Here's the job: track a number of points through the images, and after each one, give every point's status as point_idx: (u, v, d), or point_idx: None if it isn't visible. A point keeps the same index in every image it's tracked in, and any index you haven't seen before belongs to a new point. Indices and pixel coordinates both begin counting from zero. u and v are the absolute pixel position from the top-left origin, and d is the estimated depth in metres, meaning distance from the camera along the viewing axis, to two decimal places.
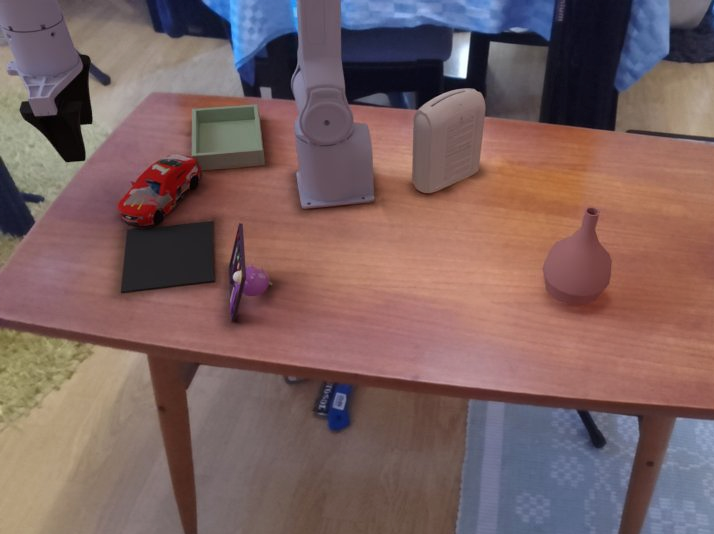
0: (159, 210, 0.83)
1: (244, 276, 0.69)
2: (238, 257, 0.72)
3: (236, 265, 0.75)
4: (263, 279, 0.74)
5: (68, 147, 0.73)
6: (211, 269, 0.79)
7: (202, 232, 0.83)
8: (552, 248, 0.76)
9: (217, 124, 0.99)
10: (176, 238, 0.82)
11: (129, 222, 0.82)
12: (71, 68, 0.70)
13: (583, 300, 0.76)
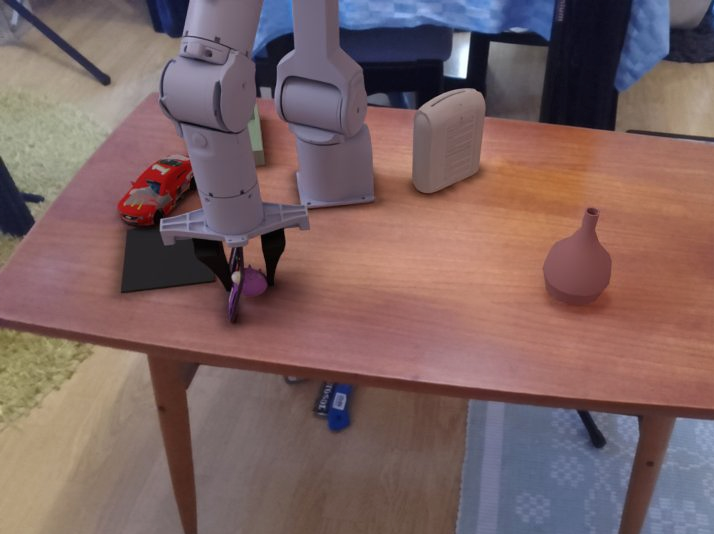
0: (159, 210, 0.83)
1: (243, 276, 0.69)
2: (237, 257, 0.72)
3: (235, 265, 0.75)
4: (262, 280, 0.74)
5: None
6: None
7: None
8: (552, 248, 0.76)
9: None
10: None
11: (129, 222, 0.82)
12: None
13: (583, 300, 0.76)
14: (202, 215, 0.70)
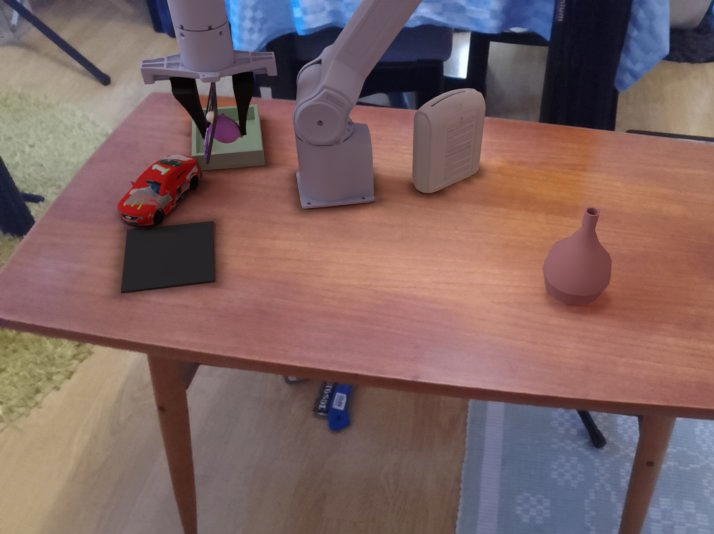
0: (159, 210, 0.83)
1: (216, 114, 0.77)
2: (211, 102, 0.79)
3: None
4: (234, 126, 0.81)
5: None
6: (211, 269, 0.79)
7: (202, 232, 0.83)
8: (552, 248, 0.76)
9: None
10: (176, 238, 0.82)
11: (129, 222, 0.82)
12: None
13: (583, 300, 0.76)
14: (178, 59, 0.77)
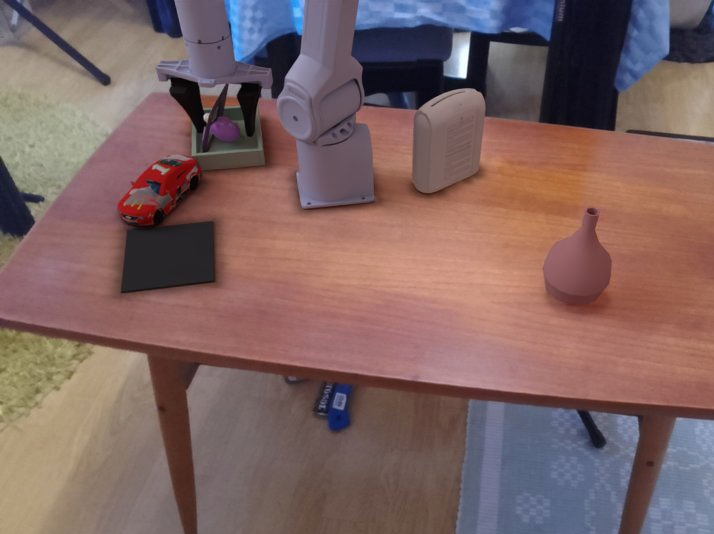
0: (159, 210, 0.83)
1: (210, 116, 0.89)
2: (214, 105, 0.91)
3: (217, 116, 0.95)
4: (232, 128, 0.93)
5: (252, 121, 0.94)
6: (211, 269, 0.79)
7: (202, 232, 0.83)
8: (552, 248, 0.76)
9: None
10: (176, 238, 0.82)
11: (129, 222, 0.82)
12: None
13: (583, 300, 0.76)
14: None
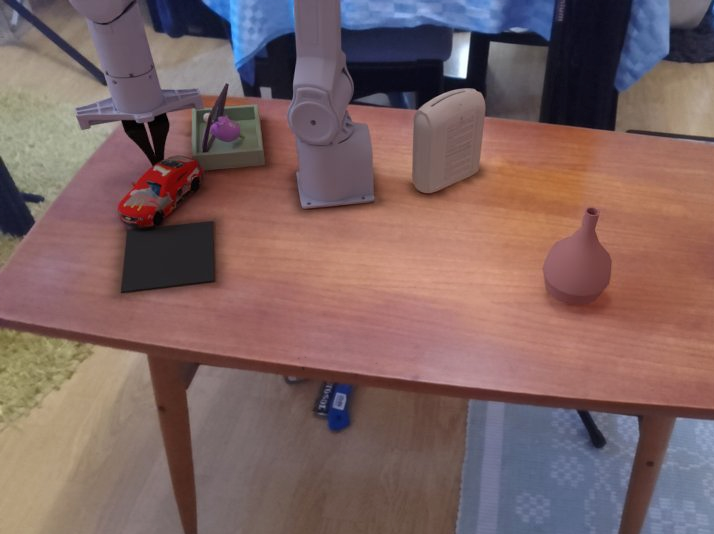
0: (159, 211, 0.83)
1: (210, 116, 0.89)
2: (214, 105, 0.91)
3: (217, 116, 0.95)
4: (232, 128, 0.93)
5: None
6: (211, 269, 0.79)
7: (202, 232, 0.83)
8: (552, 248, 0.76)
9: None
10: (176, 238, 0.82)
11: (129, 223, 0.82)
12: None
13: (583, 300, 0.76)
14: (110, 103, 0.83)
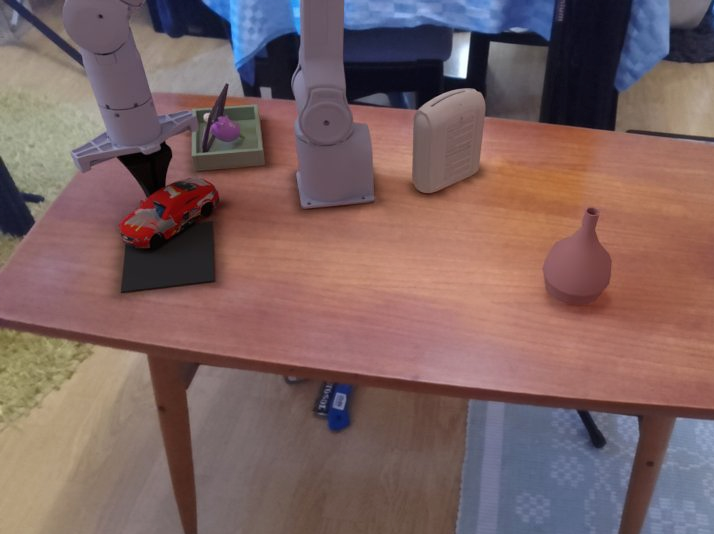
0: (158, 234, 0.80)
1: (210, 116, 0.89)
2: (214, 105, 0.91)
3: (217, 116, 0.95)
4: (232, 128, 0.93)
5: None
6: (211, 269, 0.79)
7: (202, 232, 0.83)
8: (552, 248, 0.76)
9: None
10: (176, 238, 0.82)
11: (126, 242, 0.79)
12: None
13: (583, 300, 0.76)
14: (103, 140, 0.78)
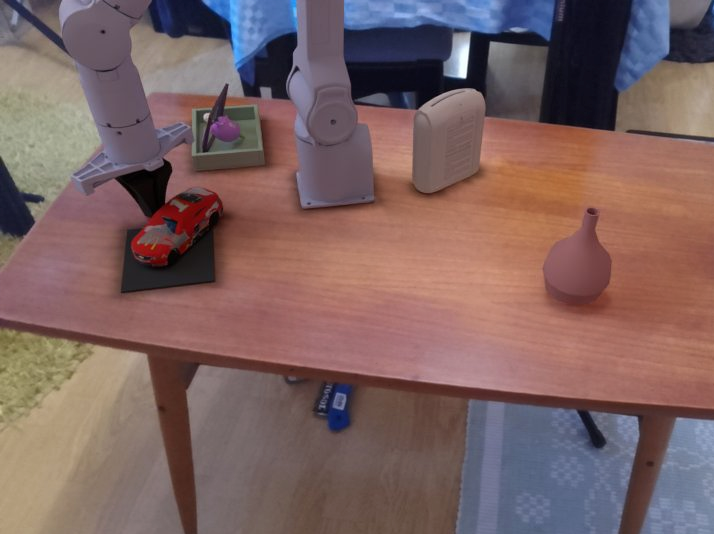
0: (174, 250, 0.78)
1: (210, 116, 0.89)
2: (214, 105, 0.91)
3: (217, 116, 0.95)
4: (232, 128, 0.93)
5: None
6: (211, 269, 0.79)
7: None
8: (552, 248, 0.76)
9: None
10: None
11: (142, 262, 0.77)
12: None
13: (583, 300, 0.76)
14: (101, 161, 0.75)
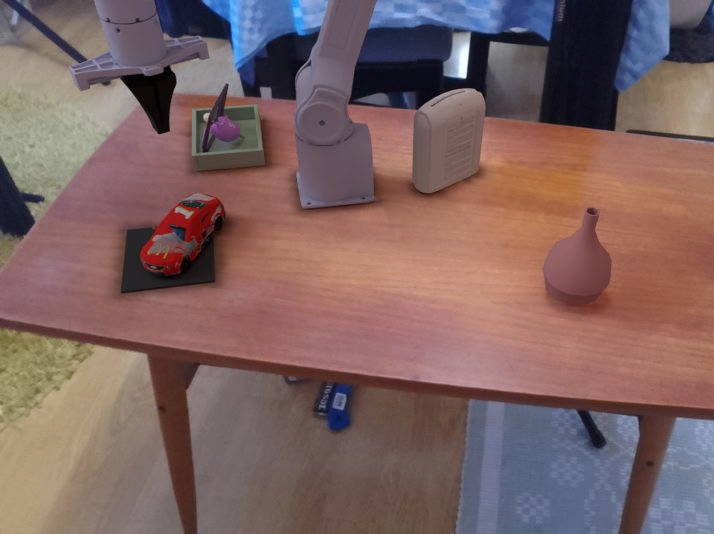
0: (186, 257, 0.78)
1: (210, 116, 0.89)
2: (214, 105, 0.91)
3: (217, 116, 0.95)
4: (232, 128, 0.93)
5: None
6: (211, 269, 0.79)
7: None
8: (552, 248, 0.76)
9: None
10: None
11: (154, 272, 0.76)
12: None
13: (583, 300, 0.76)
14: (106, 60, 0.74)
